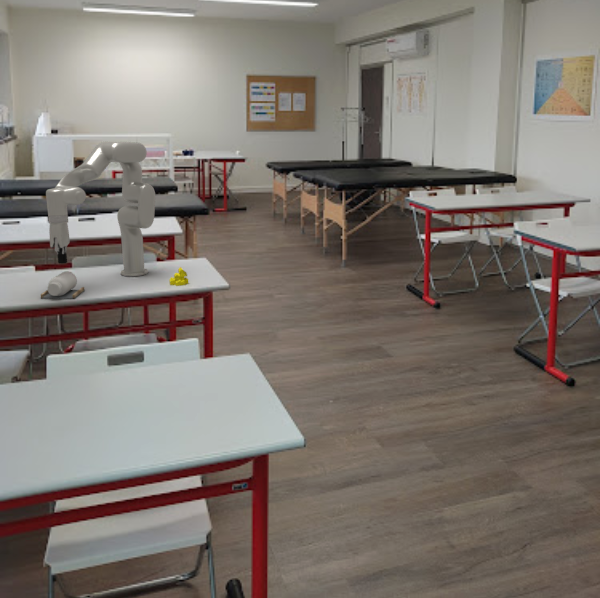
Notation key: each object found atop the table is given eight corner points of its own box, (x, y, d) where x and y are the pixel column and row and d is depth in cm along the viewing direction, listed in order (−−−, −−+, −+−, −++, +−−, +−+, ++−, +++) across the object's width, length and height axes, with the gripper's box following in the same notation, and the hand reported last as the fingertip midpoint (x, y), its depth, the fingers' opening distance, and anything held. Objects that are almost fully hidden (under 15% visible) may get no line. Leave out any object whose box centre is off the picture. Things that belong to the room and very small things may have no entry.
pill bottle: (76, 290, 291) (61, 300, 277) (58, 286, 291) (42, 296, 277) (78, 273, 289) (63, 282, 274) (60, 269, 289) (44, 278, 274)
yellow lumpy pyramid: (168, 283, 302) (167, 266, 300) (186, 281, 305) (185, 264, 303) (171, 286, 297) (170, 269, 295) (189, 284, 300) (188, 267, 298)
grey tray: (52, 290, 290) (52, 289, 290) (84, 291, 290) (84, 289, 290) (40, 298, 279) (40, 297, 279) (74, 299, 278) (74, 297, 278)
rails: (52, 290, 290) (51, 286, 290) (84, 291, 290) (84, 287, 289) (40, 298, 279) (40, 294, 278) (74, 299, 278) (74, 294, 278)
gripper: (56, 216, 286) (60, 258, 291) (42, 222, 271) (46, 267, 277) (73, 216, 286) (78, 259, 291) (60, 222, 271) (65, 267, 276)
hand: (62, 262), depth 284 cm, fingers closed
